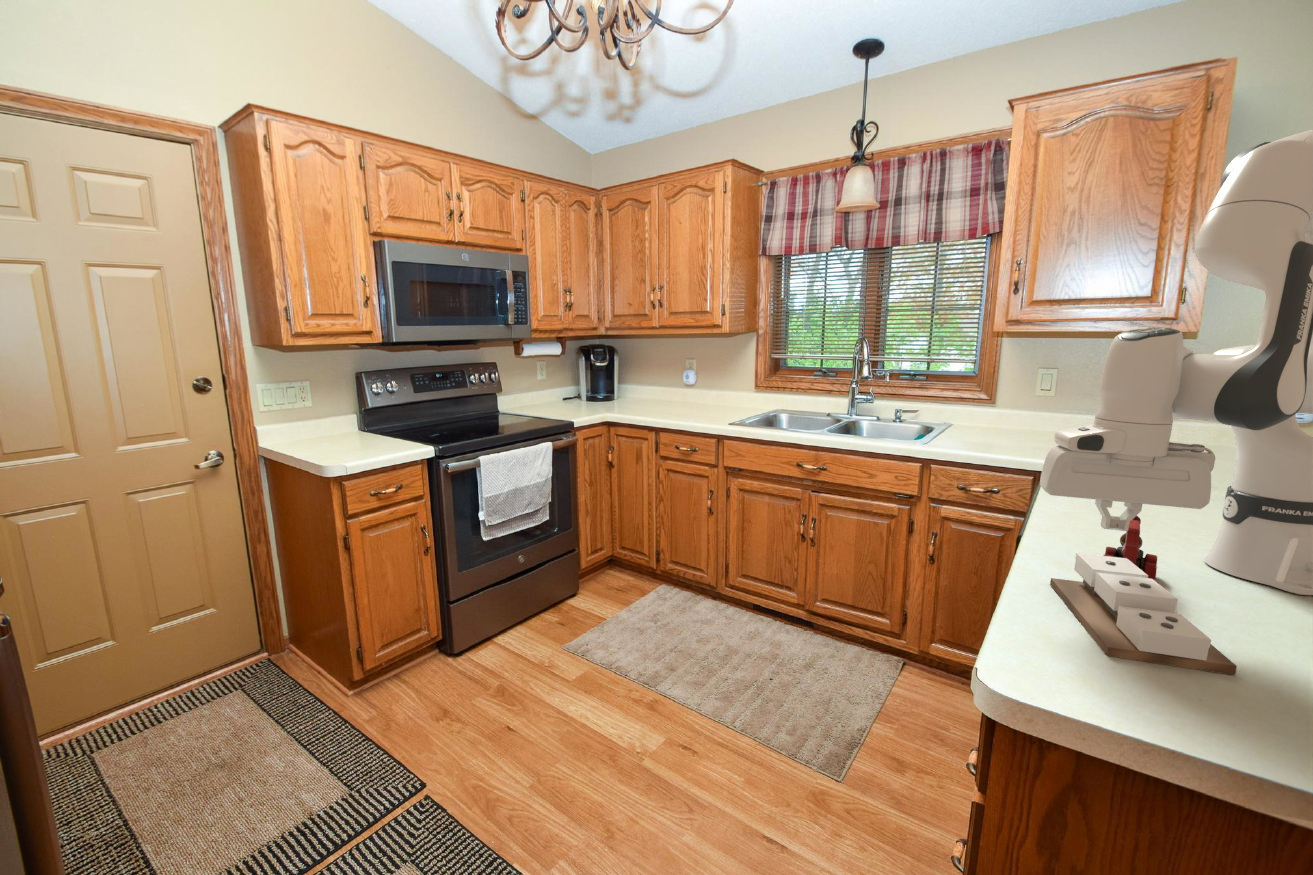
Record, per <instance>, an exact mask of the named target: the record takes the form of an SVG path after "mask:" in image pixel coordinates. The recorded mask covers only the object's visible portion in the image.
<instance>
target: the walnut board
mask: <svg viewBox="0 0 1313 875" xmlns="http://www.w3.org/2000/svg"><path fill="white" fill-rule="evenodd" d="M1082 579H1083V578H1082ZM1049 586H1051V589H1053V591H1054V592H1055V593H1056V594H1057V596H1058V597H1059V598H1060V600H1061V601H1062V602H1063V603H1064V604H1065V606H1066V607H1067V609H1069V610H1070V612H1071V613H1072V614H1073V616H1074V617H1075V618H1076V619H1077V621H1078V622H1079V623H1080V624H1081V626H1082V627H1083V628H1084V629H1085V631H1086V632H1087V633H1088V635H1089V636H1090V637H1091V638H1092V639H1093V640H1094V642H1095V643H1096V644H1097V645H1098V647H1099V648H1100V649H1101V650H1102V652H1103V653H1104V655H1106V657H1107V656H1108V657H1113V658H1120V659H1126V660H1133V661H1140V662H1146V663H1153V664H1159V665H1166V666H1172V667H1179V668H1186V669H1193V670H1200V671H1206V672H1213V673H1219V674H1223V675H1224V674H1225V675H1231V676H1235V675H1236V672H1237V667H1238V666H1237V665H1236V664H1235V663H1234V662H1232V660H1231V659H1229V658H1228V657H1227V656H1226V655H1225V654H1223V653H1222V652H1221V651H1220V650H1218V648H1216V647H1215V646H1214V645H1213V644H1212V643H1211V644H1210V647H1209V650H1208V655H1207V660H1206V661H1205V660H1199V659H1192V658H1185V657H1178V656H1172V655H1165V654H1158V653H1151V652H1145V651H1139V650H1138V649H1137V647H1136V646H1135V645H1134V644H1133V643H1132V642H1131V641H1130V640H1129V639H1128V638H1127V637H1126V635H1125V634H1124V633H1123V632H1122V631H1121V630H1120V629H1119V628H1118V627H1117V626H1116V623H1117V617H1118V611H1113V609H1112V608H1111V607H1110V606H1109V605H1108V604H1107V603H1106V602H1105V601H1104V600H1103V599H1102V598H1101V597H1100V596H1099V595H1098V594H1097V593H1096V592H1095V591H1094V588H1095V587H1091V586H1090V585H1089V584H1088V583H1087V582H1086V581H1085V580H1084V579H1083V580H1082V581H1079V580H1073V579H1072V580H1069V579H1062V578H1055V577H1050V583H1049Z"/></svg>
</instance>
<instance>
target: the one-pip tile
mask: <svg viewBox="0 0 1313 875" xmlns="http://www.w3.org/2000/svg"><path fill="white" fill-rule="evenodd" d="M1074 558H1075V563H1074V571H1075V572H1076V573H1077V574H1078V576H1080V577H1081V578H1082V579H1084V580H1085V581H1086V582H1087V583H1088V584H1089V585H1090V586H1091V587H1095V581H1096V579H1095V578H1096V572H1097V573H1106V574H1115V575H1124V576H1132V577H1141V578H1148V575H1147V574H1146V573H1144V572H1143V571H1142V570H1141V569H1140V568H1138V567H1137V566H1136V565H1135V564H1133V563H1132V562H1131V561H1130V560H1128V559H1127V558H1119V557H1109V556H1103V555H1100V554H1099V555H1097V554H1090V553H1081V552H1079V553H1078V552H1075V557H1074Z"/></svg>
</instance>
